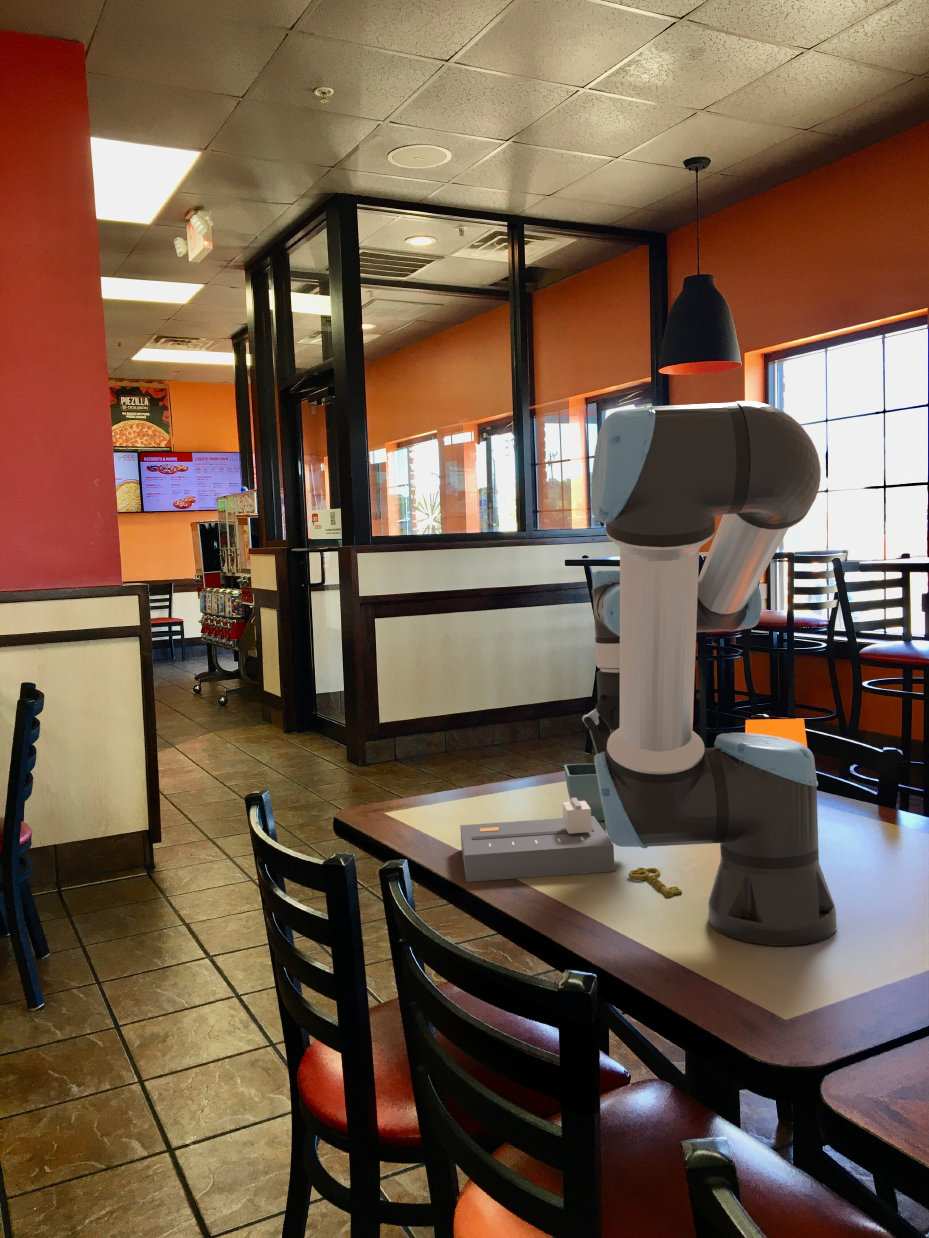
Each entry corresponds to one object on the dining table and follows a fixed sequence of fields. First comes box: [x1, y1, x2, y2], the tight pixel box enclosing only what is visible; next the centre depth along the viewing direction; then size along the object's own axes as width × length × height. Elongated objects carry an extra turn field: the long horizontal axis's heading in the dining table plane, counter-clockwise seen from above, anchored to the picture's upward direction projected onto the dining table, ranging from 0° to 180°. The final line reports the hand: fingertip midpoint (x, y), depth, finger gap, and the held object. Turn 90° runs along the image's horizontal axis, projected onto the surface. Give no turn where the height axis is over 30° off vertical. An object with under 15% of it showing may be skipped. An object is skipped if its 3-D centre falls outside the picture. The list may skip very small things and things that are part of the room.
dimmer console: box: [459, 816, 616, 883], centre depth 149 cm, size 16×22×4 cm
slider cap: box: [562, 798, 592, 834], centre depth 149 cm, size 5×4×4 cm
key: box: [627, 867, 683, 898], centre depth 135 cm, size 12×1×5 cm
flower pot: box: [563, 762, 605, 822], centre depth 170 cm, size 9×9×9 cm
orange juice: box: [745, 718, 808, 748], centre depth 148 cm, size 8×9×20 cm
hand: (628, 818), depth 149 cm, fingers closed
